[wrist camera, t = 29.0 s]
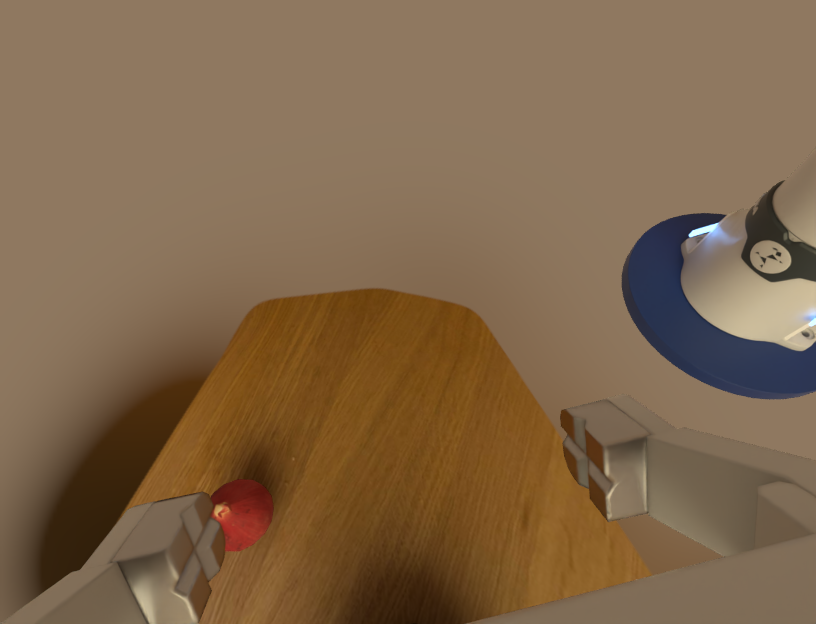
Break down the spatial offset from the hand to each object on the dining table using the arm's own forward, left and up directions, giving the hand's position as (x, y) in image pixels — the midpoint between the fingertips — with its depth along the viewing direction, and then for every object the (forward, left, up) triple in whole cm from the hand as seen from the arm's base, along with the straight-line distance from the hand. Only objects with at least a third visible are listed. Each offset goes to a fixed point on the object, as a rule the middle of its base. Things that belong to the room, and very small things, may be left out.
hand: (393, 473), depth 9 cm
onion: (+14, -8, -34) cm, 38 cm away
